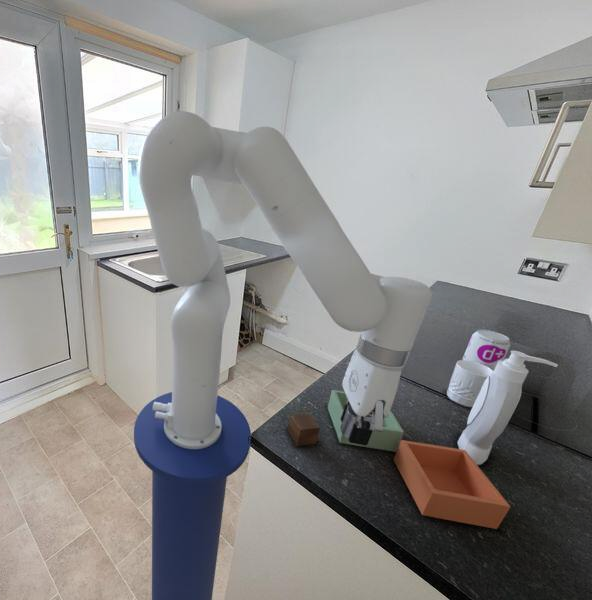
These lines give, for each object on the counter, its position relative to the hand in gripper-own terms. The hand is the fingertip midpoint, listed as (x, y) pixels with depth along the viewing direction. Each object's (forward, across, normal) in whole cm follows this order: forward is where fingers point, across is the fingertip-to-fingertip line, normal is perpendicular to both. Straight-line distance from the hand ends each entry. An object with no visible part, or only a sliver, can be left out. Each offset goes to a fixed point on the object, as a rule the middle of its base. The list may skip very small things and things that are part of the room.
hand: (353, 431), depth 59 cm
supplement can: (+8, -42, +49) cm, 65 cm away
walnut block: (+9, -6, -7) cm, 13 cm away
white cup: (+8, -30, +39) cm, 50 cm away
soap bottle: (+8, -10, +31) cm, 34 cm away
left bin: (+9, -12, +7) cm, 16 cm away
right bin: (+8, +2, +17) cm, 19 cm away
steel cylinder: (0, 0, 0) cm, 0 cm away
